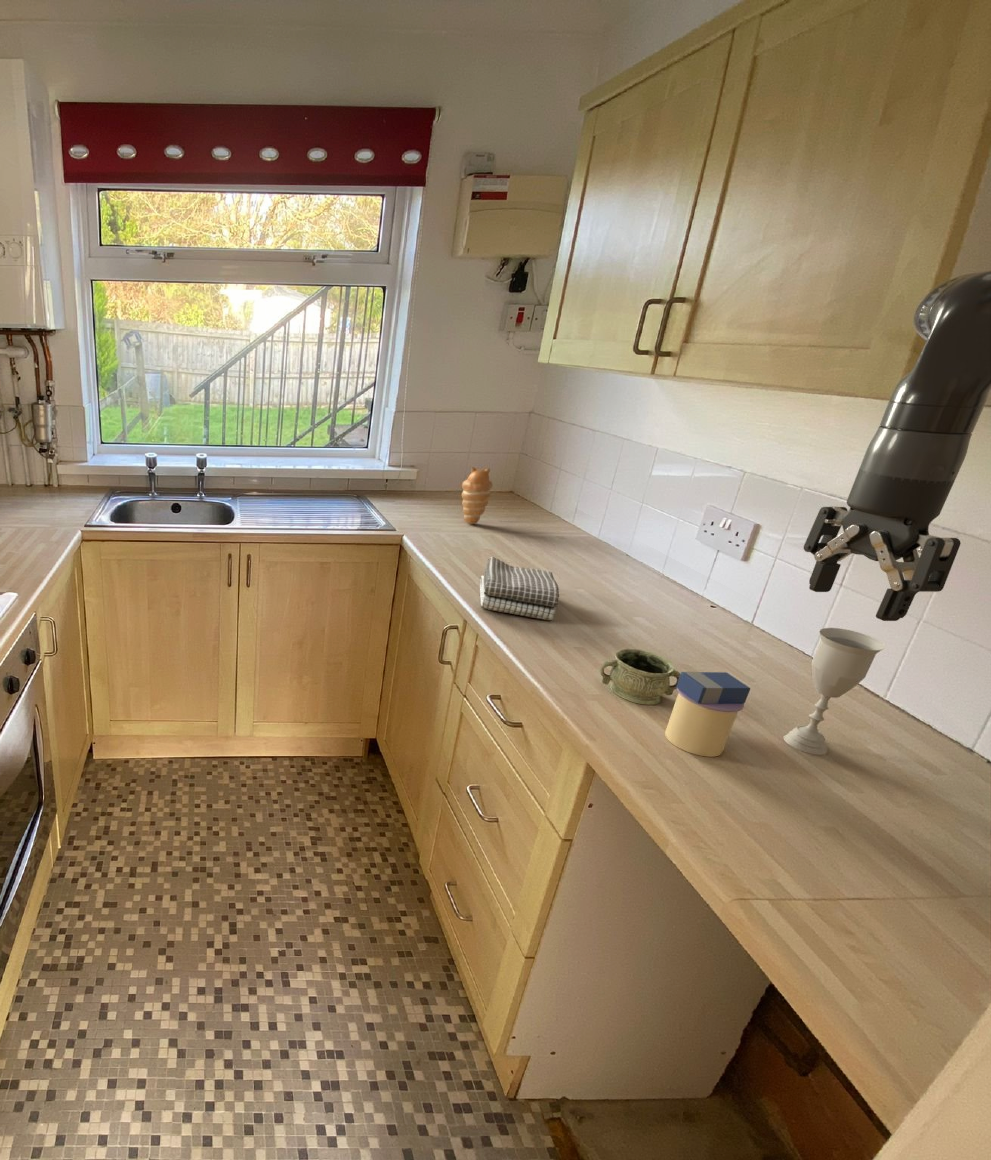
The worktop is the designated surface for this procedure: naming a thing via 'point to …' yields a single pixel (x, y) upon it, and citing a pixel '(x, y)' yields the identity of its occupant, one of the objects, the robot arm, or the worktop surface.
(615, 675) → the vessel
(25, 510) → the worktop surface
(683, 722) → the yogurt pot
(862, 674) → the chalice
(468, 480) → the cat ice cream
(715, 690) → the block
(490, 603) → the towel
